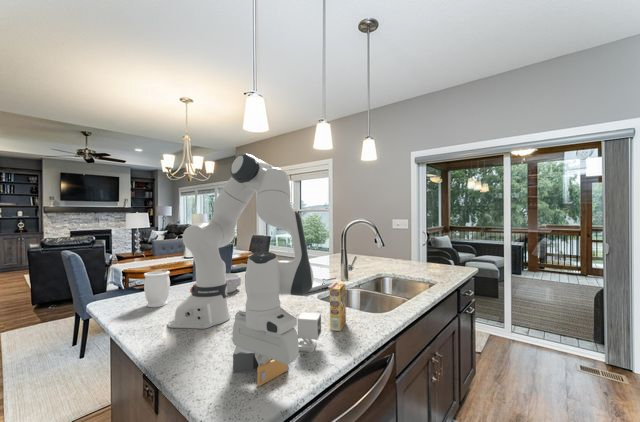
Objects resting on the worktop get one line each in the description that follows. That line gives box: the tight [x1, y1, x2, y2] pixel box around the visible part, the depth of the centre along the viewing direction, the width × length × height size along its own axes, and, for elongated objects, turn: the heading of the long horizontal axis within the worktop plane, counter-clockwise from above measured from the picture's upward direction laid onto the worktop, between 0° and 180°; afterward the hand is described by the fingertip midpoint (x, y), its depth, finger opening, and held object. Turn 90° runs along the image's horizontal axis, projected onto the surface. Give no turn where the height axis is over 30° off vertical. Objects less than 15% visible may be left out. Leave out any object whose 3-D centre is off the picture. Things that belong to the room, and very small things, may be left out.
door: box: [256, 360, 289, 387], centre depth 74 cm, size 10×2×5 cm, turn 138°
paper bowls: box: [226, 273, 242, 294], centre depth 157 cm, size 15×15×8 cm
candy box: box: [329, 282, 347, 332], centre depth 107 cm, size 9×4×15 cm, turn 162°
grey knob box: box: [232, 346, 273, 374], centre depth 82 cm, size 14×9×6 cm, turn 96°
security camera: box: [297, 312, 322, 353], centre depth 91 cm, size 6×7×10 cm
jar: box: [143, 270, 171, 308], centre depth 134 cm, size 11×10×15 cm
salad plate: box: [307, 277, 334, 293], centre depth 162 cm, size 21×21×3 cm
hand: (263, 370), depth 74 cm, fingers closed, pressing on door
